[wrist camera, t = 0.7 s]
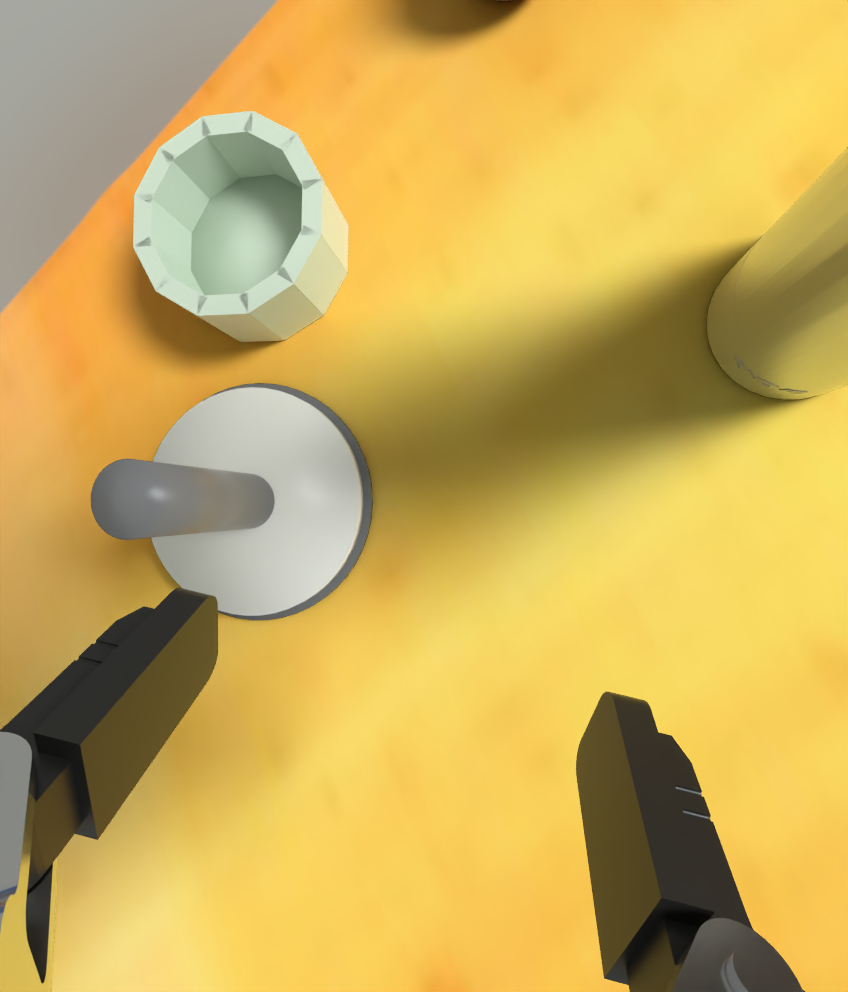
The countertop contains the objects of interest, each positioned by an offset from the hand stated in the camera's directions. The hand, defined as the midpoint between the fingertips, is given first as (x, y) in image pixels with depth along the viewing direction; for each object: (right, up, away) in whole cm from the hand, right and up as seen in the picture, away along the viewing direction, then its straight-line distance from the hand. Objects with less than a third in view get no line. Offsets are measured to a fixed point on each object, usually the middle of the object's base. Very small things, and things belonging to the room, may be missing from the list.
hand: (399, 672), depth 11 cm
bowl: (-10, +20, +25) cm, 34 cm away
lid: (-11, +3, +24) cm, 27 cm away
